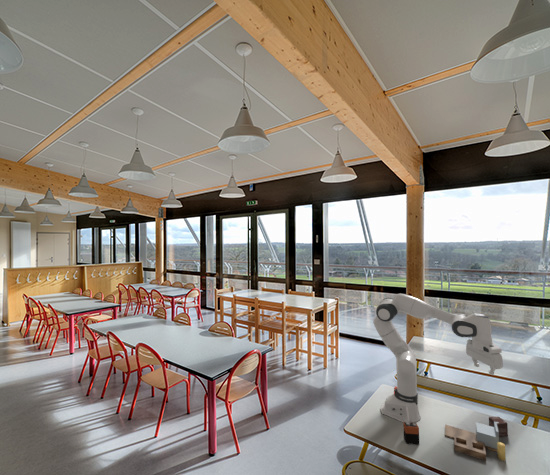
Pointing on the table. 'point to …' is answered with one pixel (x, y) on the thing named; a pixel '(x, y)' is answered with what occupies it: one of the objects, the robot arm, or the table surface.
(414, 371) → the robot arm
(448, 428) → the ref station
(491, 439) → the cover
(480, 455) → the board
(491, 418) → the box
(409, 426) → the battery
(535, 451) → the table surface
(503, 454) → the pin
